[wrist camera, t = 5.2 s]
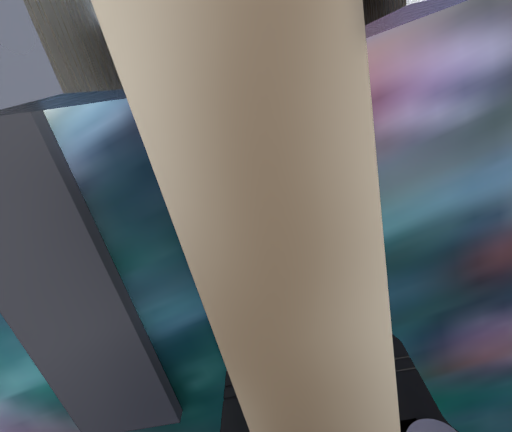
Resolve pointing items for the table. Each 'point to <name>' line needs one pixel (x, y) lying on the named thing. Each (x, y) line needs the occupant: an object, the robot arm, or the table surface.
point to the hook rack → (103, 50)
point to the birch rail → (271, 195)
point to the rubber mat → (71, 291)
